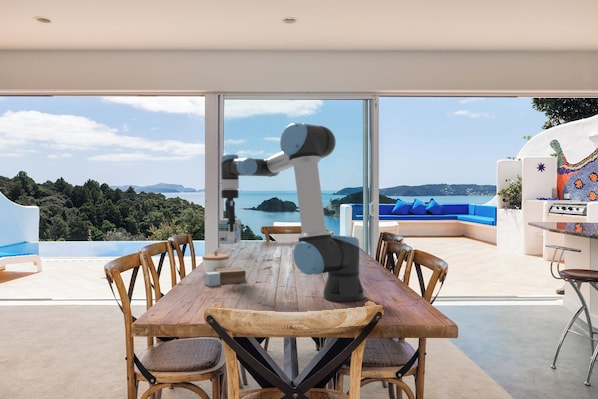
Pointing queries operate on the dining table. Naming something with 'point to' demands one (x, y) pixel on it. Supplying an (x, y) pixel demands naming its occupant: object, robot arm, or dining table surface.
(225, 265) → the lidded bowl
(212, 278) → the slate cube
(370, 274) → the dining table surface
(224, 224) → the light bulb box
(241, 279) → the walnut block
